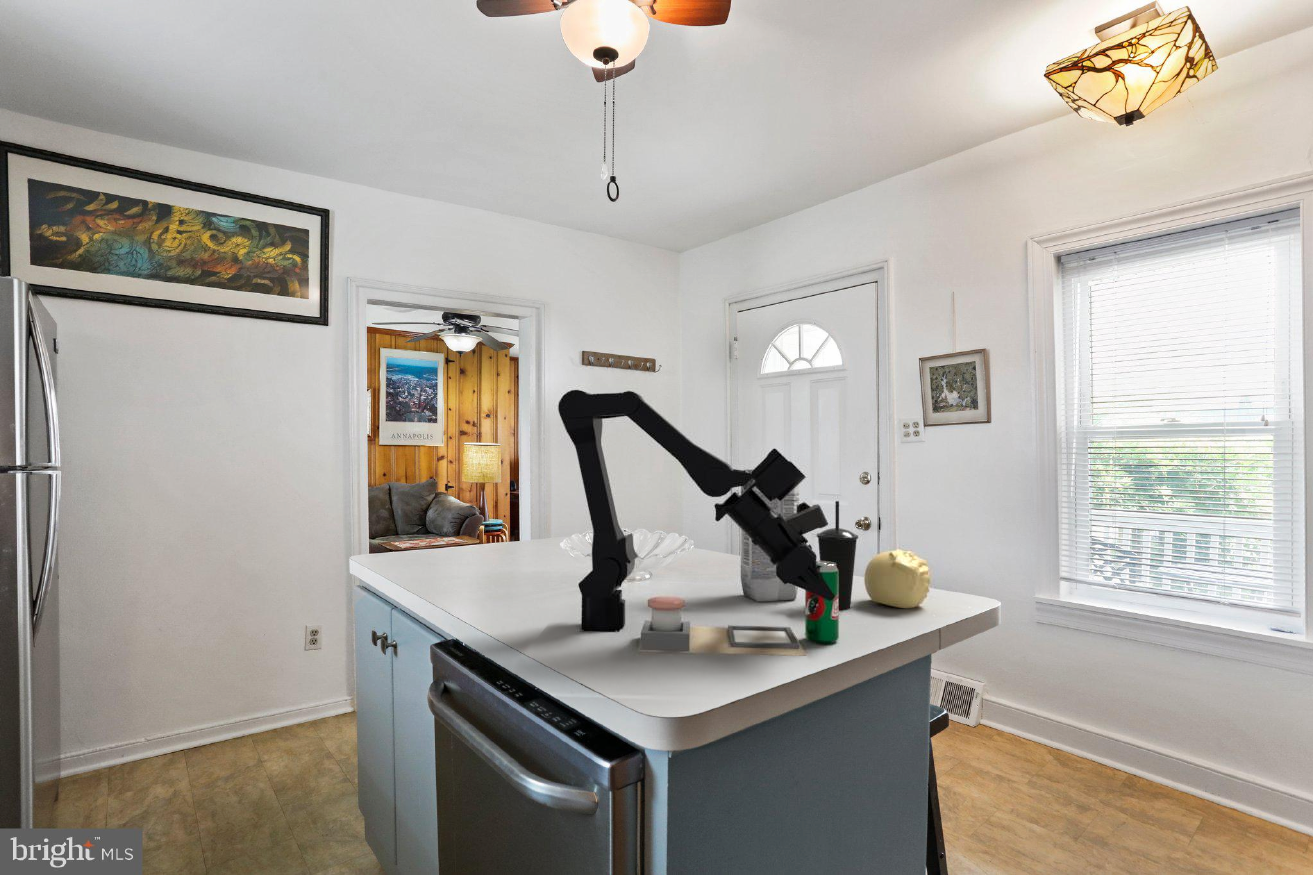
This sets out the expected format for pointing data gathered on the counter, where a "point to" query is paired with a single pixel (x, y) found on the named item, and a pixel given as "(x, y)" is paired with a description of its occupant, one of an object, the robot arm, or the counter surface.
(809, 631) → the soda can
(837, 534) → the drinking cup
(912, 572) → the sculpture
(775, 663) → the counter surface
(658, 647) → the button housing
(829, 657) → the counter surface
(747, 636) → the board
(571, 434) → the robot arm
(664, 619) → the button
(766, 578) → the juice carton
